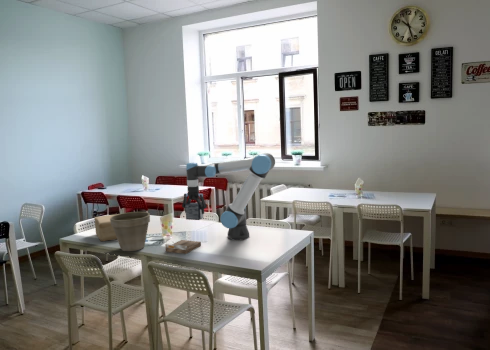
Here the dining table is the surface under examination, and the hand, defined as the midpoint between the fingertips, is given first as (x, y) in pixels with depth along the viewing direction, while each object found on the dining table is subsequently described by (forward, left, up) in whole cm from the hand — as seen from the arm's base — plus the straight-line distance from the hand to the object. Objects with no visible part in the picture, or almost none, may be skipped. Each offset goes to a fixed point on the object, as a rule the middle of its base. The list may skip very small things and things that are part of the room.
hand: (194, 218), depth 280 cm
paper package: (+65, +6, -16) cm, 67 cm away
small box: (0, 0, -1) cm, 1 cm away
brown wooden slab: (-2, +18, -16) cm, 24 cm away
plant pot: (+31, +28, -16) cm, 45 cm away
